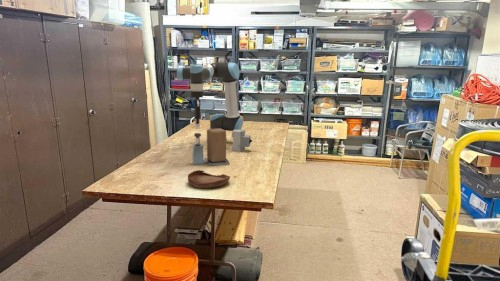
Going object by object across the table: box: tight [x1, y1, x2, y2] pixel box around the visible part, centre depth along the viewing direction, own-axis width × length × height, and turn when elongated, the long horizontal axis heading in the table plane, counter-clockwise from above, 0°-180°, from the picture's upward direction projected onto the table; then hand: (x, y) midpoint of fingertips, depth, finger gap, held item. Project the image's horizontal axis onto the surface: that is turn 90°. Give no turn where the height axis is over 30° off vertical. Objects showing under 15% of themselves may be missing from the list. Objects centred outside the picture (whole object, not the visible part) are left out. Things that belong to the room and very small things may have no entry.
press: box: [192, 143, 230, 167], centre depth 218 cm, size 14×22×12 cm, turn 106°
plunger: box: [194, 132, 202, 146], centre depth 214 cm, size 4×4×10 cm
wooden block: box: [206, 128, 227, 162], centre depth 218 cm, size 10×10×20 cm
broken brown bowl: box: [187, 169, 231, 189], centre depth 181 cm, size 22×20×5 cm
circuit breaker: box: [231, 129, 253, 153], centre depth 249 cm, size 8×14×15 cm, turn 78°
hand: (197, 128), depth 212 cm, fingers closed
